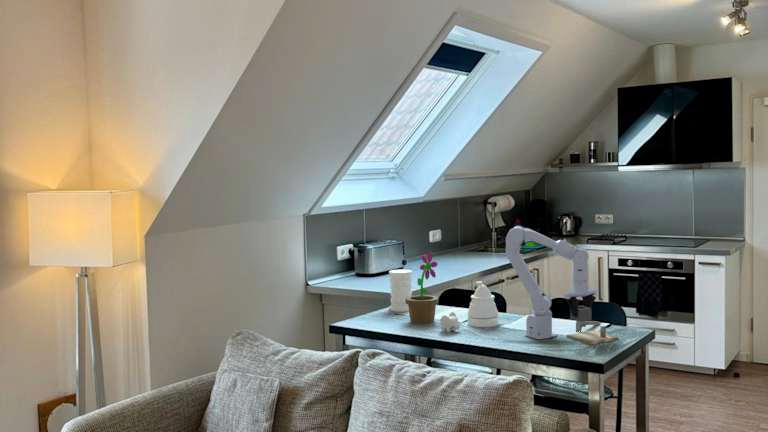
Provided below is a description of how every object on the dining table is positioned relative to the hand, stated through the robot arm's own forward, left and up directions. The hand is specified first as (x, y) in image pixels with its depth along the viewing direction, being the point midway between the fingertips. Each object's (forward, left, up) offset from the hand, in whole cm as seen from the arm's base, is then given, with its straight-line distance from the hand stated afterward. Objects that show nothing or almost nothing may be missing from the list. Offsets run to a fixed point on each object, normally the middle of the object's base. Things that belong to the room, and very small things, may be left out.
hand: (580, 315), depth 282 cm
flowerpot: (-35, +59, -9) cm, 70 cm away
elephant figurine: (-35, +37, -9) cm, 52 cm away
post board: (+3, -3, -9) cm, 10 cm away
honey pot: (-16, +41, -9) cm, 45 cm away
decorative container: (-29, +88, -9) cm, 93 cm away
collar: (0, 0, -1) cm, 1 cm away
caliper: (+14, +11, -9) cm, 20 cm away
